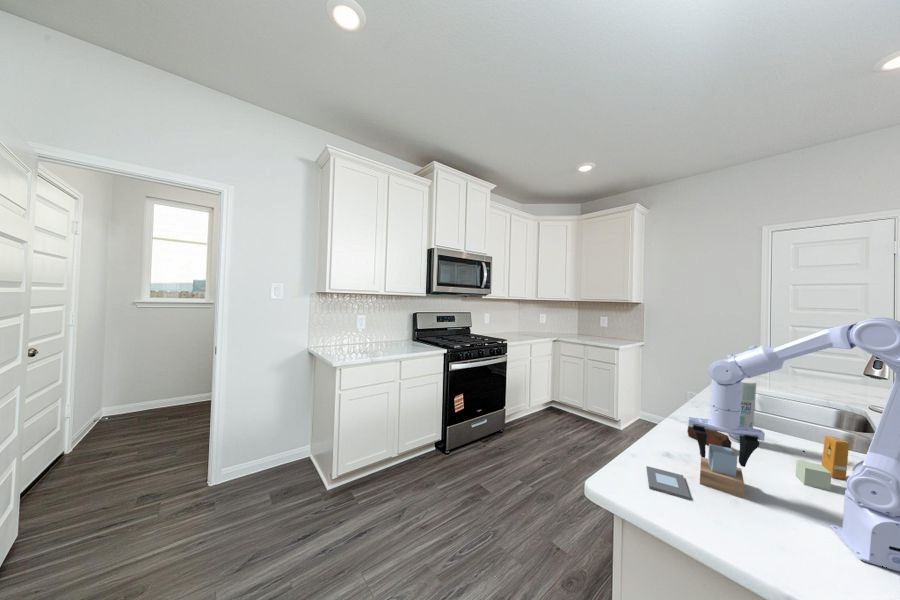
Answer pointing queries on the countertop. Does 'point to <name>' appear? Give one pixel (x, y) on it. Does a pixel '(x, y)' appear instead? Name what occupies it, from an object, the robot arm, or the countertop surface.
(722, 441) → the brick
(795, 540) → the countertop surface
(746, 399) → the spray can
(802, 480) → the sage block
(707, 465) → the base block
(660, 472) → the card
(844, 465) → the supplement box
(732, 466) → the slate block
